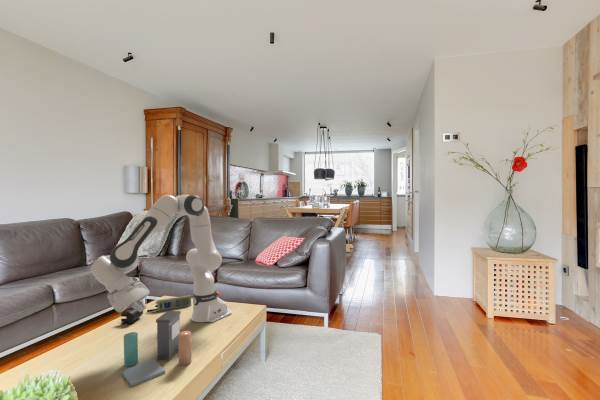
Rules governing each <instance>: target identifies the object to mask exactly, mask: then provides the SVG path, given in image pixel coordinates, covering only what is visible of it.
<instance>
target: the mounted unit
mask: <svg viewBox="0 0 600 400" xmlns="http://www.w3.org/2000/svg"><path fill="white" fill-rule="evenodd" d="M181 314H182V313H181V310H166V311H165V312H164V313H163V314H162V315H160V316H159V317H158V318H156V320H155V323H156V327H157V329H156V330H157V331H156V333H157V335H156V336H157V337H156V339H157V341H156V342H157V343H156V344H157V361H158V362H160V361H161V362H164V361H165V362H170V361H171V360H172V358H174V357H175V355H176V354H177V353H178V334H179V333H180V332H181V329H180V327H181V323H180V322H181V321H180V318H181V317H180V316H181Z"/></svg>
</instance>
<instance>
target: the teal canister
mask: <svg viewBox="0 0 600 400" xmlns="http://www.w3.org/2000/svg"><path fill="white" fill-rule="evenodd" d="M138 339H139V338H138V332H136V331H132V332H128V333H125V334H124V335H123V366H124V367H125V368H131V367H134V366H137V365H139V348H138V347H139V340H138Z"/></svg>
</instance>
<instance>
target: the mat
mask: <svg viewBox="0 0 600 400" xmlns="http://www.w3.org/2000/svg"><path fill="white" fill-rule="evenodd" d="M120 372H121V373H120V374H121V375H122V377H123V378H124V379H125V380H126V381H127V383H128V385H130V387H134V386H136V385H139V384H142V383H144V382H147V381H149V380H151V379H154V378H156V377H158V376H161V375H163V374H165V373H166V370H165V369H164V368H163V367H162V366H161V365H160V364H159V363H158V362H157V361H156V360H155V359H151V360H148V361H145V362H143V363H138V364H136V365H135V366H132V367H127V368H126V369H123V370H121V371H120Z"/></svg>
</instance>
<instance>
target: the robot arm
mask: <svg viewBox="0 0 600 400" xmlns="http://www.w3.org/2000/svg"><path fill="white" fill-rule="evenodd" d="M175 215H177V216H187V217H188V219H189V230H190V239H191V241H192V243H193V244H194V245H195V246H194V247H195V248H191V249H190V250H188V251H187V253H186V255H185V260H186V262H187V263H188V265H189V268H190V272H191V275H192V279H193V294H192V303H193V304H192V305H193V309H192V314H191V318H190V320H191V321H192V322H196V323H214V322H216V321H218V320H221V319H223V318H225V317H228V316H230V315H232V310H231V309H229V308H228V304H227V302H226V301H224V300H223V299H221V298H219V297H220V296H221V295H222V294H221V292H220V291H215V278H214V276H213V274H212V273H211V271H213V270H217V269H219V268H220V267H221V266H222V262H223V257H222V255H221V253H220V252H219V251H218V249H217V247H216V245H215V242H214V238H213V234H212V227H211V226H212V225H211V224H212V223H211V218H210V213H209V209H208V208H207V206H205V205H204V201H203V198H201V197H200V196H199V195H197V194H182V195H181V194H179V195H171V194H163V195H162V196H161V197H160V198H158V199H157V200H156V201H155V202H154V204H152V205H151V207H149V210H148V211H147V212H146V214H145V215H144V217H143V218H142V220H141V222H139V224H138V225H137V226H136V228H134V229H133V231H132V232H131V233H130V235H129V236H128V237H127V238H126V239H125V240H123V241H122V242H120V243H119V244H117V245H116V246H114V247H113V248H112V250H111V251H110V253H109V255H100V256H99V257H98V258H97V259H95V260H94V262H93V263H92V264H91V265H90V272H91V274H92V275H93V276H94V278H95V279H96V280H97V281H98V282H99V284H102V285H103V286H104V287H105V289H106V290H107V292H108V293H107V296H106V297H107V300H108V302H109V304H110V305H111V306H112V308H113V309H114V310H115V312H117V313H122V312H124V311H126V310H128V309H129V308H134V309H137V310H138V311H139V312H141V311H143V312H144V311H145V310H146V309H147V306H146V305H145V303H144V301H143V300H145V299H146V297H148V296H149V295H150V293H151V292H150V289H148V287H147V286H146V285H145V284H144V283H143V282H142V281H140V278H139V277H136V276H135V277H134V276H128V275H127V274H128V273H130V272H132V271H134V270H136V268H137V267H138V265H140V264H139V263H140V258H139V255H138V253H139V249H140V247H141V246H142V245H143V243H144V242H145V241H146V240H147V239H148V237H149V236H150V235H151V234H152V233H154V232H160V231H163V230H164V229H165V228H166V227H167V226H168V225H169V223H170V222H171V220H172V219H173V218H174V216H175Z"/></svg>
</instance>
